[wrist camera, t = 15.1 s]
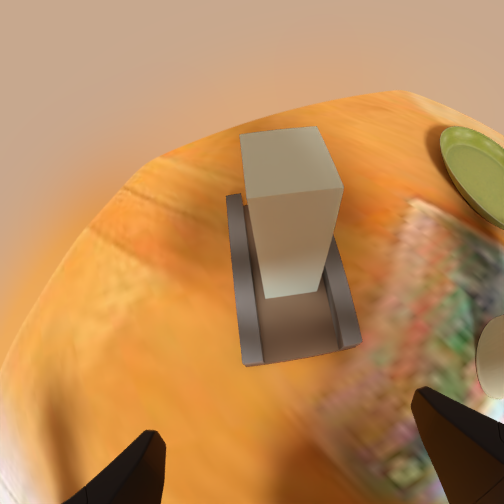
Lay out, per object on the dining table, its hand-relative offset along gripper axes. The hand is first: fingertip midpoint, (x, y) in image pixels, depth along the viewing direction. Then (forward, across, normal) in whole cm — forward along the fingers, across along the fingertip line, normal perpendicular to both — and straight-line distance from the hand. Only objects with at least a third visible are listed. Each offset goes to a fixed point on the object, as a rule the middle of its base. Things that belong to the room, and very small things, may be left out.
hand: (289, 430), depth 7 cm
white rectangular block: (+18, -2, +1) cm, 18 cm away
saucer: (+24, -36, -4) cm, 43 cm away
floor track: (+18, -2, +1) cm, 18 cm away
